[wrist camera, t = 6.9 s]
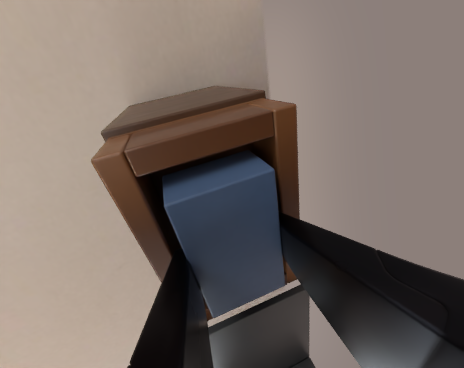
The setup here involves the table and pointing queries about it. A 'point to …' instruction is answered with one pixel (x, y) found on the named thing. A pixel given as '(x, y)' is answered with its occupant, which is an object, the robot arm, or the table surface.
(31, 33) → the table surface
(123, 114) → the cabinet body
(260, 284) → the block
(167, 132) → the tray
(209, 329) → the lid
